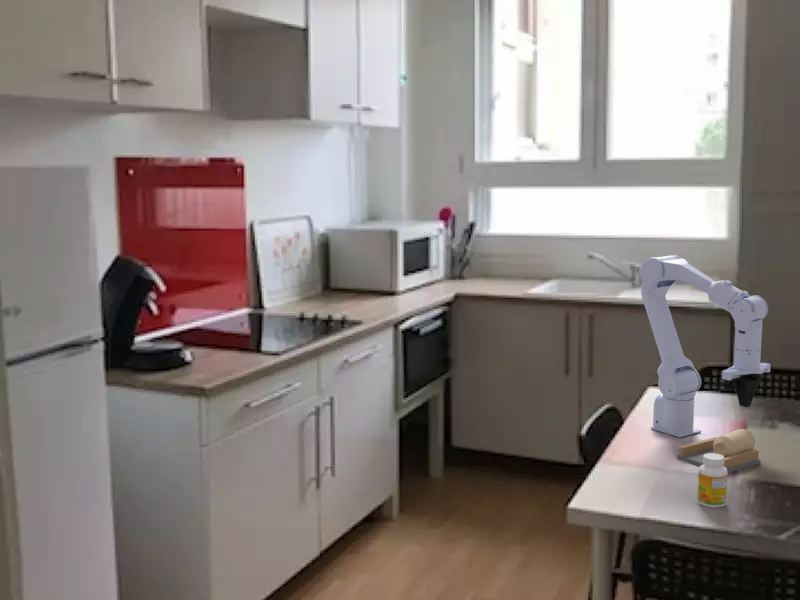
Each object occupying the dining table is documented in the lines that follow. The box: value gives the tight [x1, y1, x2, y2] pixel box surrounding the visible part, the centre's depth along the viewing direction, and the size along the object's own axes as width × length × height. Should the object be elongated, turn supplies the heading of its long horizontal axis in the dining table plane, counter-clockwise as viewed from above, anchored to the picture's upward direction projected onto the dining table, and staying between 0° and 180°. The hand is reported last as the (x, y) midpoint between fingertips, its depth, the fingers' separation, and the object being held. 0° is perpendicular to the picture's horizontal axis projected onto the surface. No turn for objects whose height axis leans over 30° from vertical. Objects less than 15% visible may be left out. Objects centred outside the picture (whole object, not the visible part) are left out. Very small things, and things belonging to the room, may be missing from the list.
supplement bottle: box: [697, 453, 728, 509], centre depth 183 cm, size 5×5×10 cm
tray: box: [676, 437, 761, 474], centre depth 208 cm, size 13×12×3 cm
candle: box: [713, 428, 756, 458], centre depth 208 cm, size 6×6×10 cm
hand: (744, 405), depth 215 cm, fingers closed
